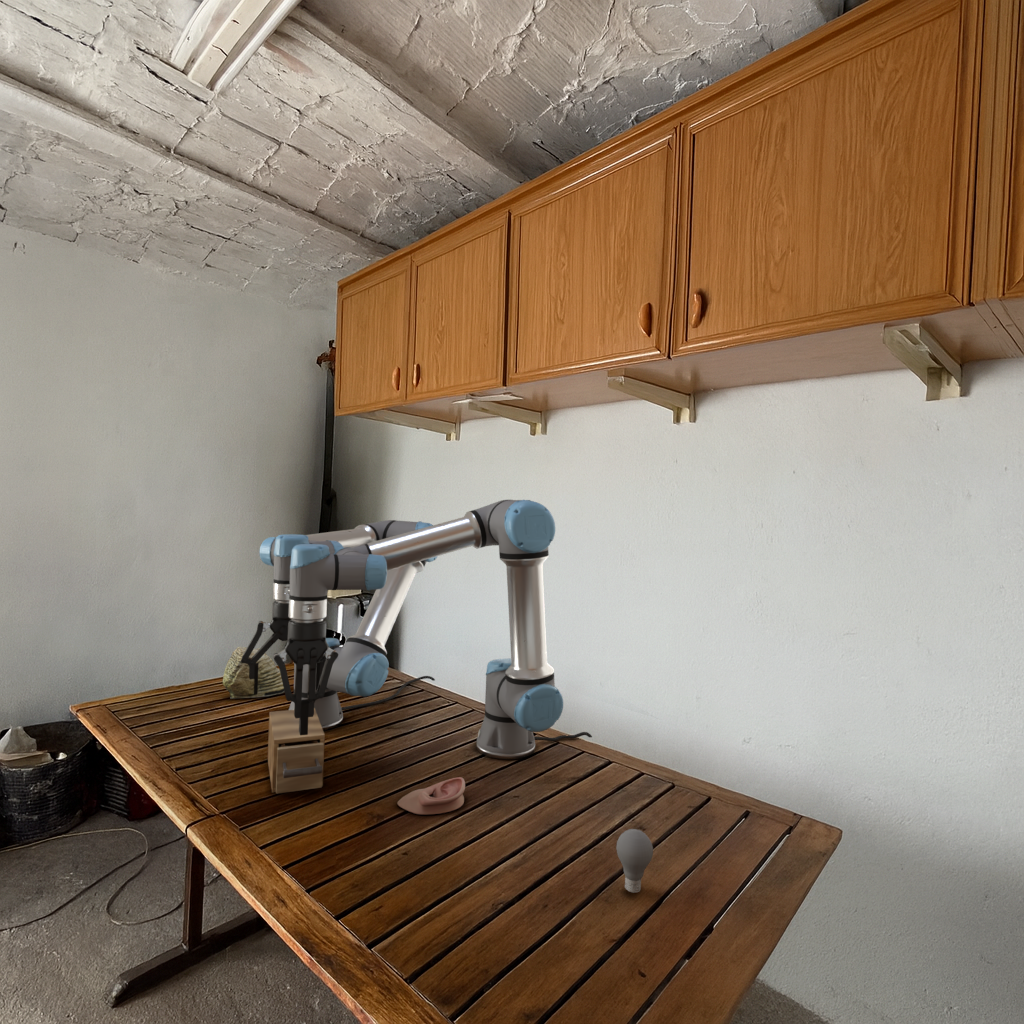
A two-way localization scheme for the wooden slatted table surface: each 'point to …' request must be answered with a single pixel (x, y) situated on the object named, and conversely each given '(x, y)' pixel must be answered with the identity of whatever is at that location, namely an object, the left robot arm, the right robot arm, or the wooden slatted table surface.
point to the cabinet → (289, 736)
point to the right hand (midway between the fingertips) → (303, 732)
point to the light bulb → (634, 857)
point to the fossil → (243, 686)
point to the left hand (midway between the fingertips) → (286, 690)
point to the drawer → (299, 766)
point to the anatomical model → (435, 798)
